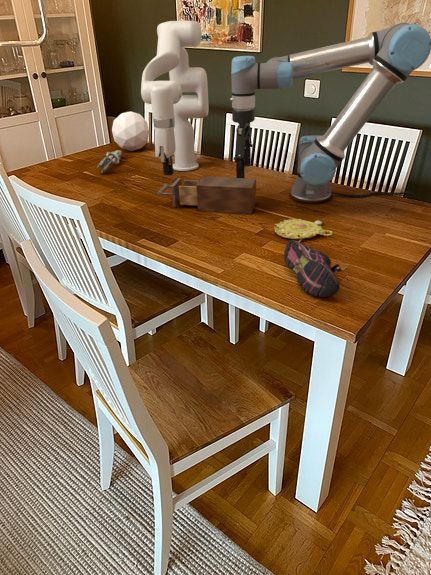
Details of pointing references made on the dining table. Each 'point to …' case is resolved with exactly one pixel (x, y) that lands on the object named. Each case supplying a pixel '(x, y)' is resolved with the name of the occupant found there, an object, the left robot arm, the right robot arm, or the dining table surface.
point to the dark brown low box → (226, 194)
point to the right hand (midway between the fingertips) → (243, 171)
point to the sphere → (130, 131)
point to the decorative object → (300, 229)
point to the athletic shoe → (312, 269)
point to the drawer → (182, 192)
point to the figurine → (110, 160)
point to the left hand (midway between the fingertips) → (168, 174)
